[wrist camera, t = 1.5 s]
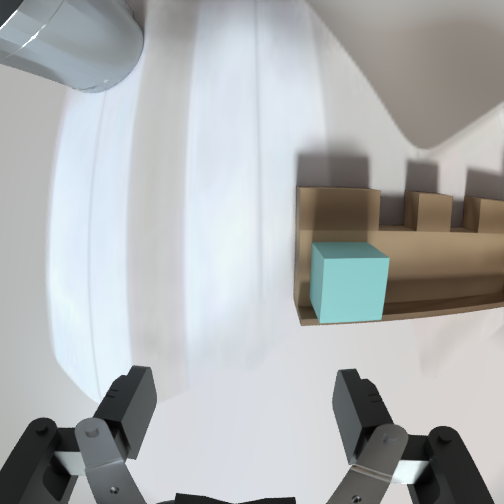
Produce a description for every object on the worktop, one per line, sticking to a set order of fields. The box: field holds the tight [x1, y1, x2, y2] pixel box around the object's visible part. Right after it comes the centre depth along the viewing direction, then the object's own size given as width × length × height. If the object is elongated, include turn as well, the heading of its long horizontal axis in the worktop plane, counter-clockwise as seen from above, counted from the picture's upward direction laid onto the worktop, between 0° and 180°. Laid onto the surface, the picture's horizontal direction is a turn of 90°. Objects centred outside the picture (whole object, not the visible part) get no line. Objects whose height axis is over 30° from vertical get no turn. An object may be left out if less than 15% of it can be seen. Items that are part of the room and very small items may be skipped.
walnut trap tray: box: [294, 186, 504, 326], centre depth 26 cm, size 11×26×6 cm, turn 91°
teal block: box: [309, 242, 390, 323], centre depth 24 cm, size 5×5×5 cm
